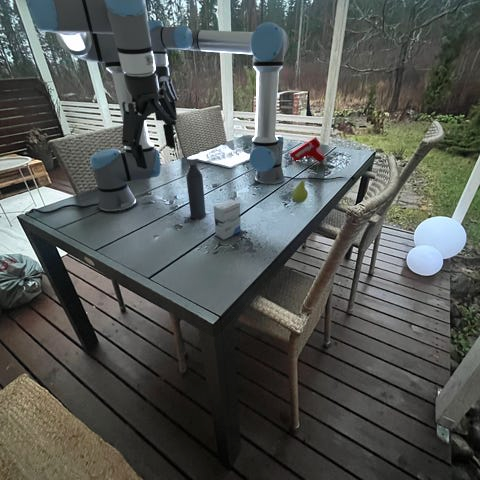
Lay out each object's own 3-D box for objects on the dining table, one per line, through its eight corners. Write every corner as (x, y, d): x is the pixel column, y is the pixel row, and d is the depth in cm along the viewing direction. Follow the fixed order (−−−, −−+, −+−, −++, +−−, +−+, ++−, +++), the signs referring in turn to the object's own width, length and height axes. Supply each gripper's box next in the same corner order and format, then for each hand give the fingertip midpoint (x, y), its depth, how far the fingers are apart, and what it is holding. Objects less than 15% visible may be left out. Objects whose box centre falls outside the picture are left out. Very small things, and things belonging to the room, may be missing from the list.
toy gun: (328, 157, 168) (316, 136, 164) (328, 158, 165) (315, 137, 161) (303, 172, 178) (290, 152, 174) (302, 174, 175) (289, 154, 171)
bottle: (207, 212, 113) (202, 156, 101) (203, 219, 108) (198, 161, 96) (193, 212, 114) (186, 156, 101) (189, 218, 109) (182, 161, 96)
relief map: (230, 168, 162) (230, 159, 159) (189, 158, 180) (188, 150, 177) (256, 157, 180) (256, 149, 177) (216, 149, 198) (215, 142, 195)
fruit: (288, 200, 123) (290, 174, 116) (302, 197, 125) (305, 172, 119) (296, 206, 118) (299, 179, 111) (310, 203, 120) (314, 177, 114)
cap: (199, 161, 101) (199, 156, 100) (197, 165, 98) (196, 159, 96) (189, 161, 101) (188, 156, 100) (186, 164, 98) (185, 159, 97)
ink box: (232, 226, 103) (231, 197, 97) (241, 231, 100) (241, 202, 94) (214, 235, 98) (212, 205, 92) (223, 240, 95) (222, 209, 89)
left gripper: (114, 89, 54) (139, 180, 69) (183, 63, 70) (191, 141, 85) (86, 84, 56) (116, 173, 71) (159, 59, 73) (171, 137, 88)
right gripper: (167, 65, 130) (173, 114, 142) (134, 66, 110) (145, 122, 122) (181, 65, 128) (186, 114, 140) (150, 65, 108) (159, 122, 120)
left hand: (157, 156), depth 78 cm, fingers open, 13 cm apart
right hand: (167, 118), depth 131 cm, fingers open, 13 cm apart
